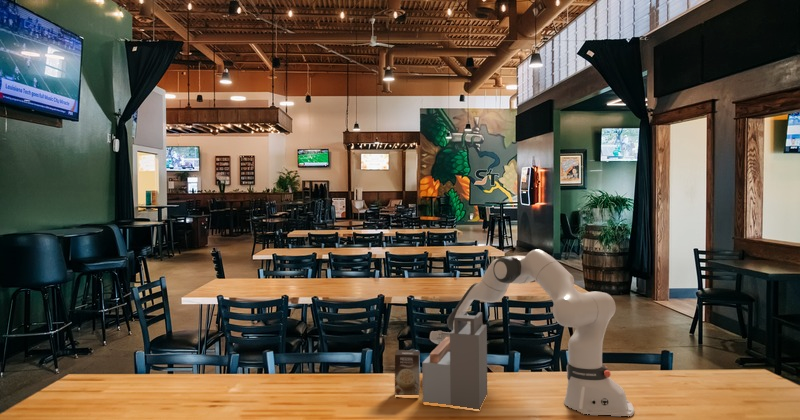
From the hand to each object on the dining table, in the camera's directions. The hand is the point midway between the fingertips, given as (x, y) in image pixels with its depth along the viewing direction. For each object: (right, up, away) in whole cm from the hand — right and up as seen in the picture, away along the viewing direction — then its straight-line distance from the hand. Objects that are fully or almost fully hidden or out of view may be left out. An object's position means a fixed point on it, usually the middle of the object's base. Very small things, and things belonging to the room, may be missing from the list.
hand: (451, 333), depth 206 cm
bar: (-5, -4, -14) cm, 15 cm away
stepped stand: (0, -19, -20) cm, 28 cm away
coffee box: (-18, -20, -16) cm, 31 cm away
